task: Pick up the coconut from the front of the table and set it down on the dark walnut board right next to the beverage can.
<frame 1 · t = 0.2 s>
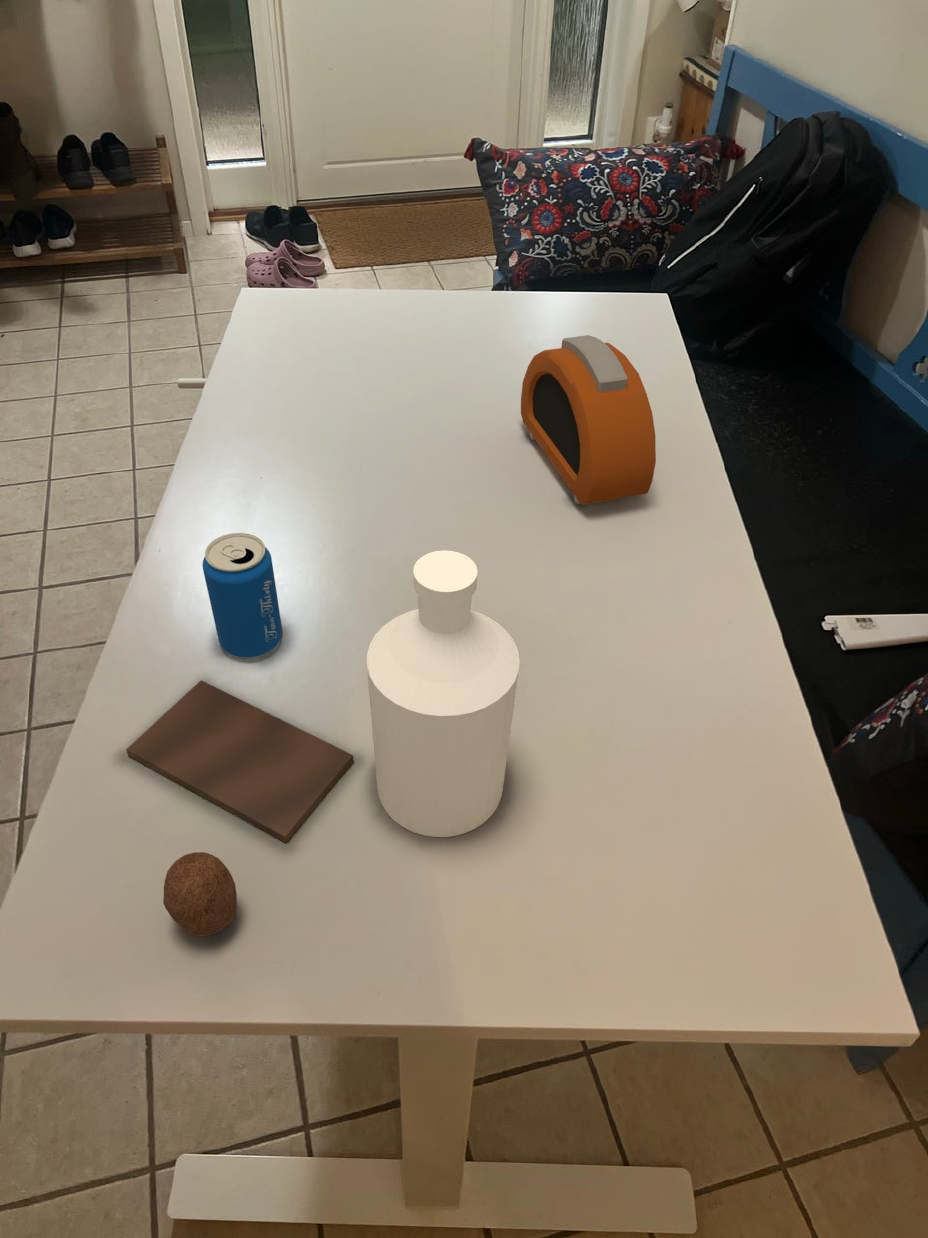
beverage can: (252, 642, 92), on the table
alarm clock: (578, 466, 118), on the table
walnut board: (241, 759, 81), on the table
bottle: (440, 784, 80), on the table
coconut: (209, 920, 70), on the table
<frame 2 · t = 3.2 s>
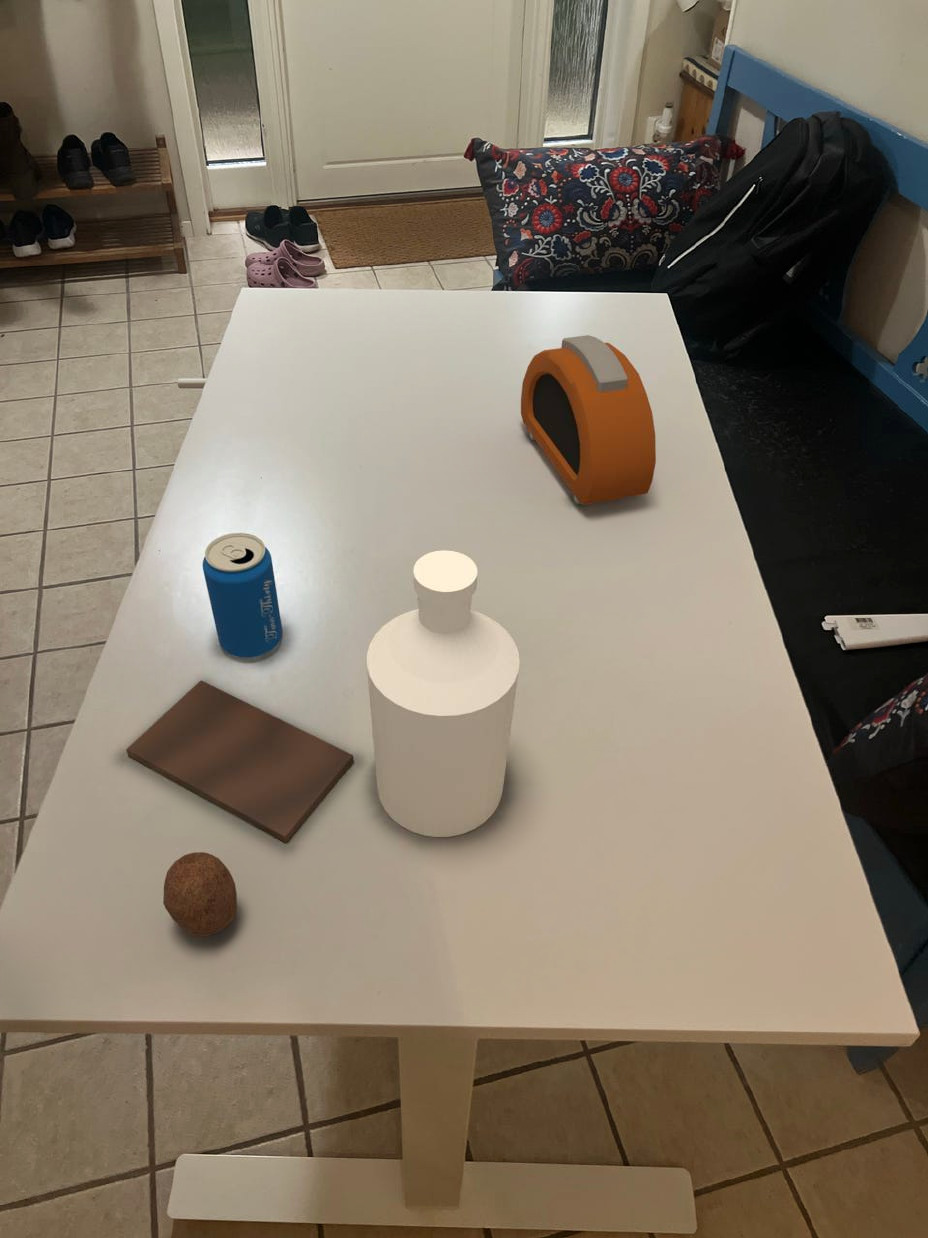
nothing on the table moved.
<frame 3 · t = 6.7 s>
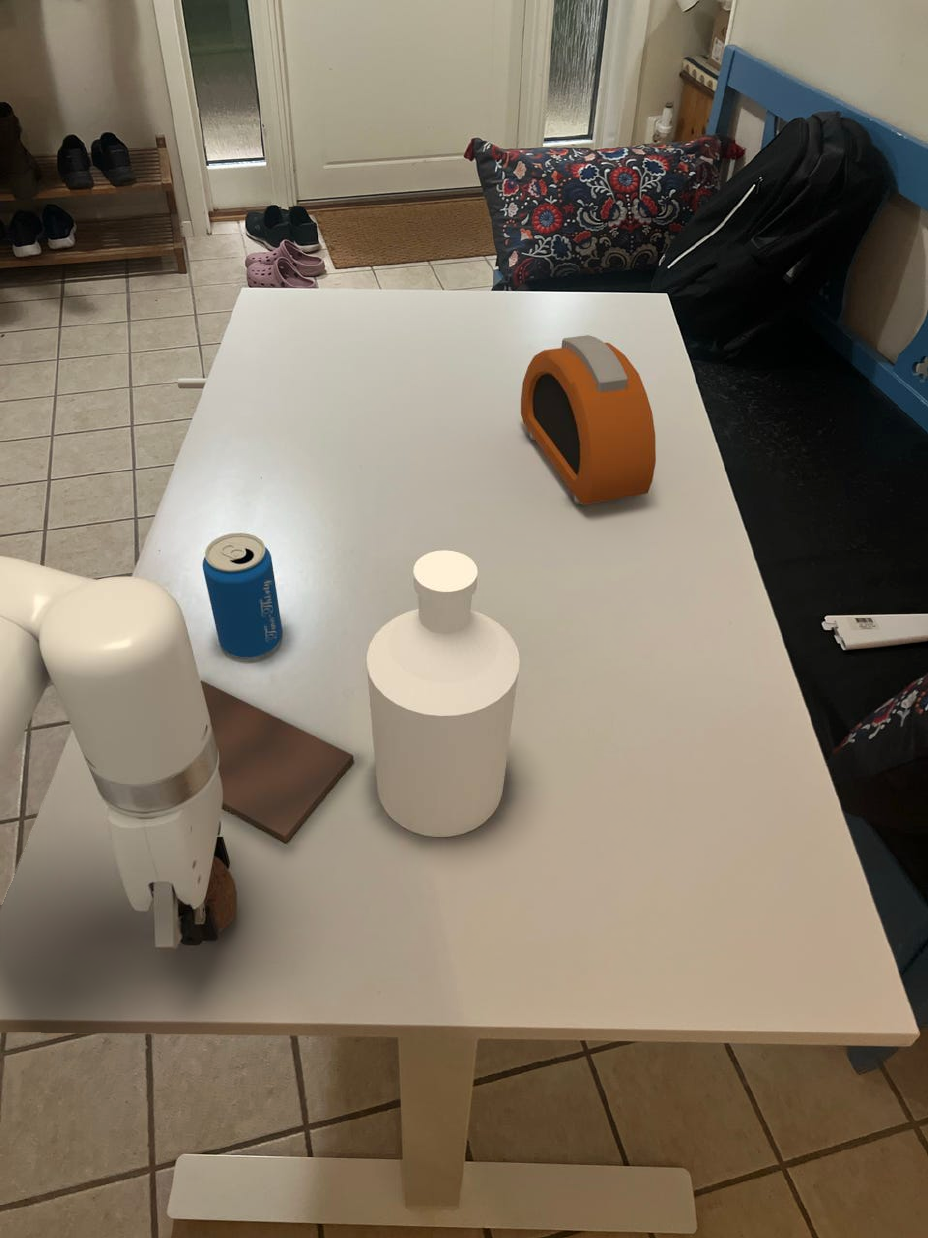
hand: (203, 900, 68), 3 cm above the table, tool pointing down, fingers closed on coconut, 5 cm apart
coconut: (209, 920, 70), on the table, touching gripper
everything else where it was.
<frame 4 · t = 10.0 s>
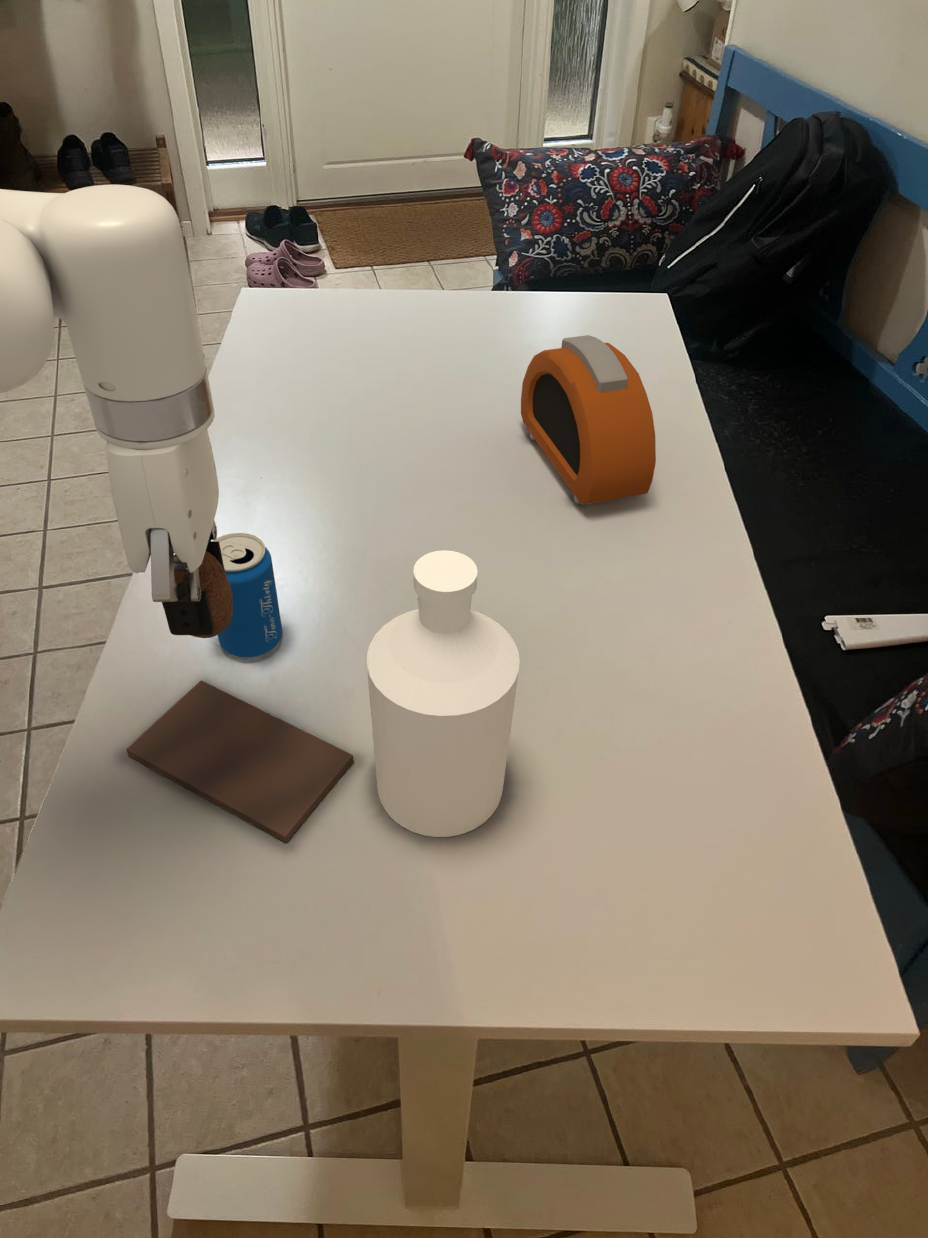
hand: (199, 604, 69), 18 cm above the table, tool pointing down, fingers closed on coconut, 5 cm apart
coconut: (206, 632, 72), point 15 cm above the table, touching gripper
everything else where it was.
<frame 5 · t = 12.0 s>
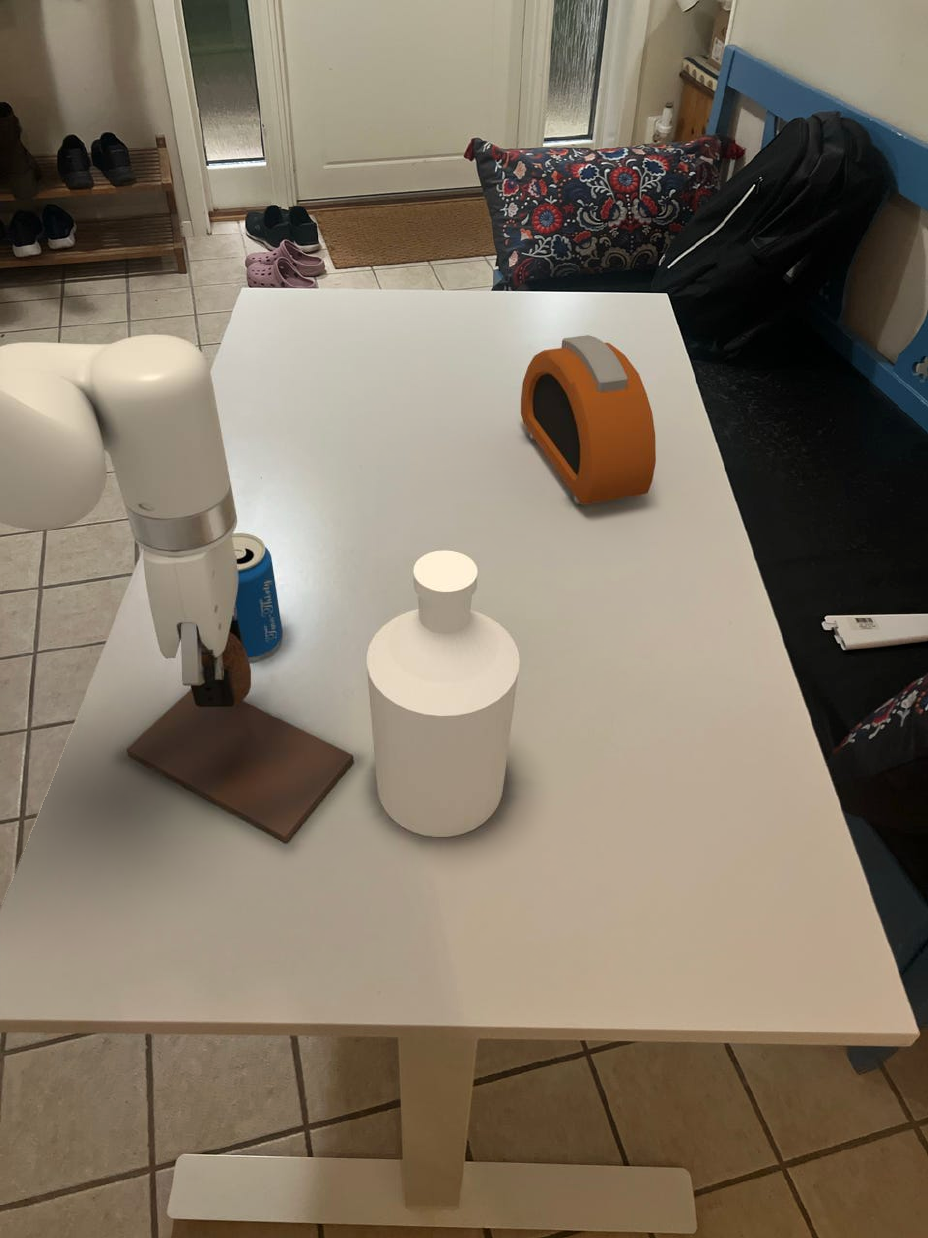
hand: (220, 677, 77), 8 cm above the table, tool pointing down, fingers closed on coconut, 5 cm apart
coconut: (226, 700, 79), point 5 cm above the table, touching gripper
everything else where it was.
when the fingers open (4 cm above the table, at t = 13.5 s): coconut stays where it is, resting on walnut board.
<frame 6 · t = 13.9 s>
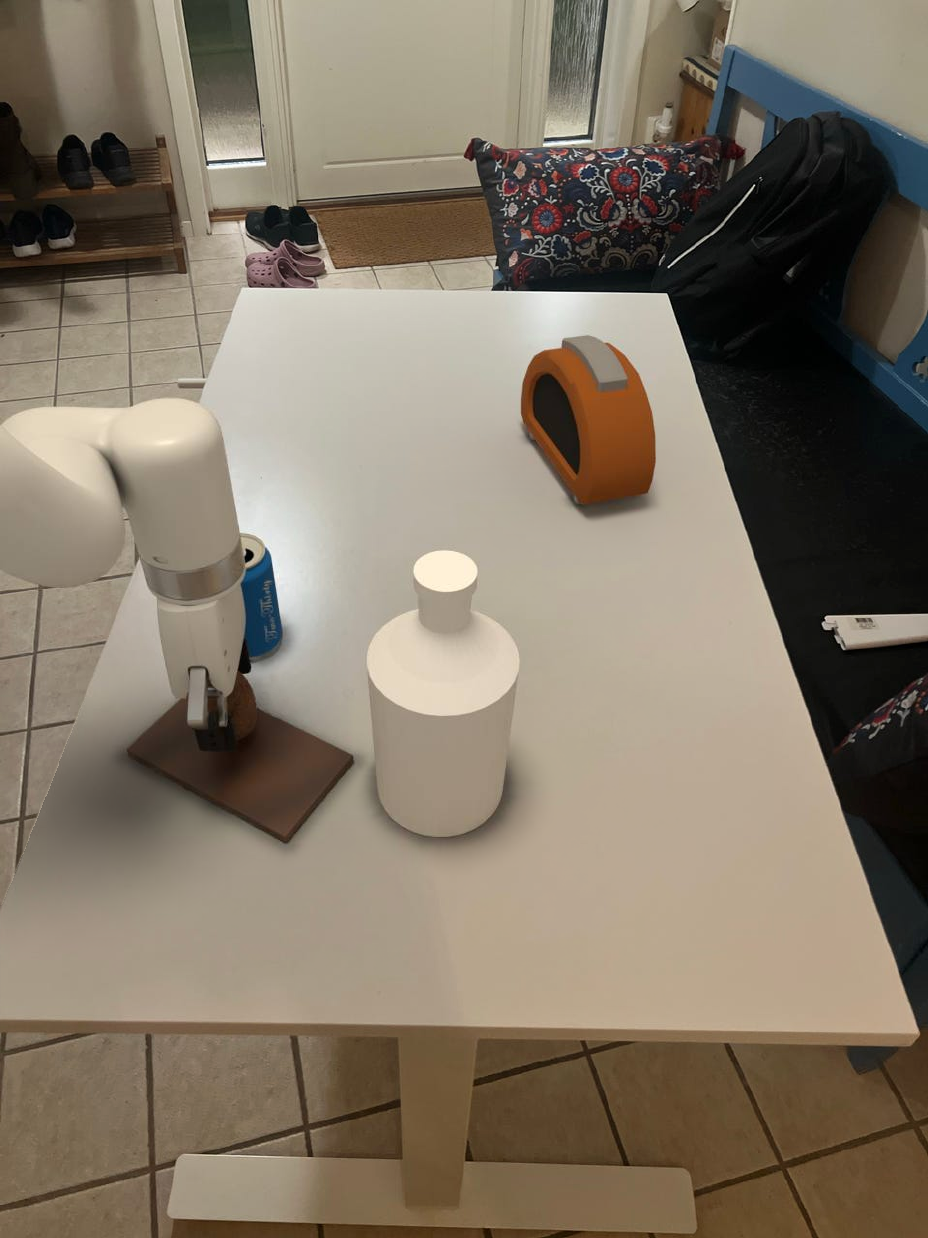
hand: (227, 708, 80), 4 cm above the table, tool pointing down, fingers open, 8 cm apart
coconut: (233, 733, 82), point 1 cm above the table, touching walnut board
everything else where it was.
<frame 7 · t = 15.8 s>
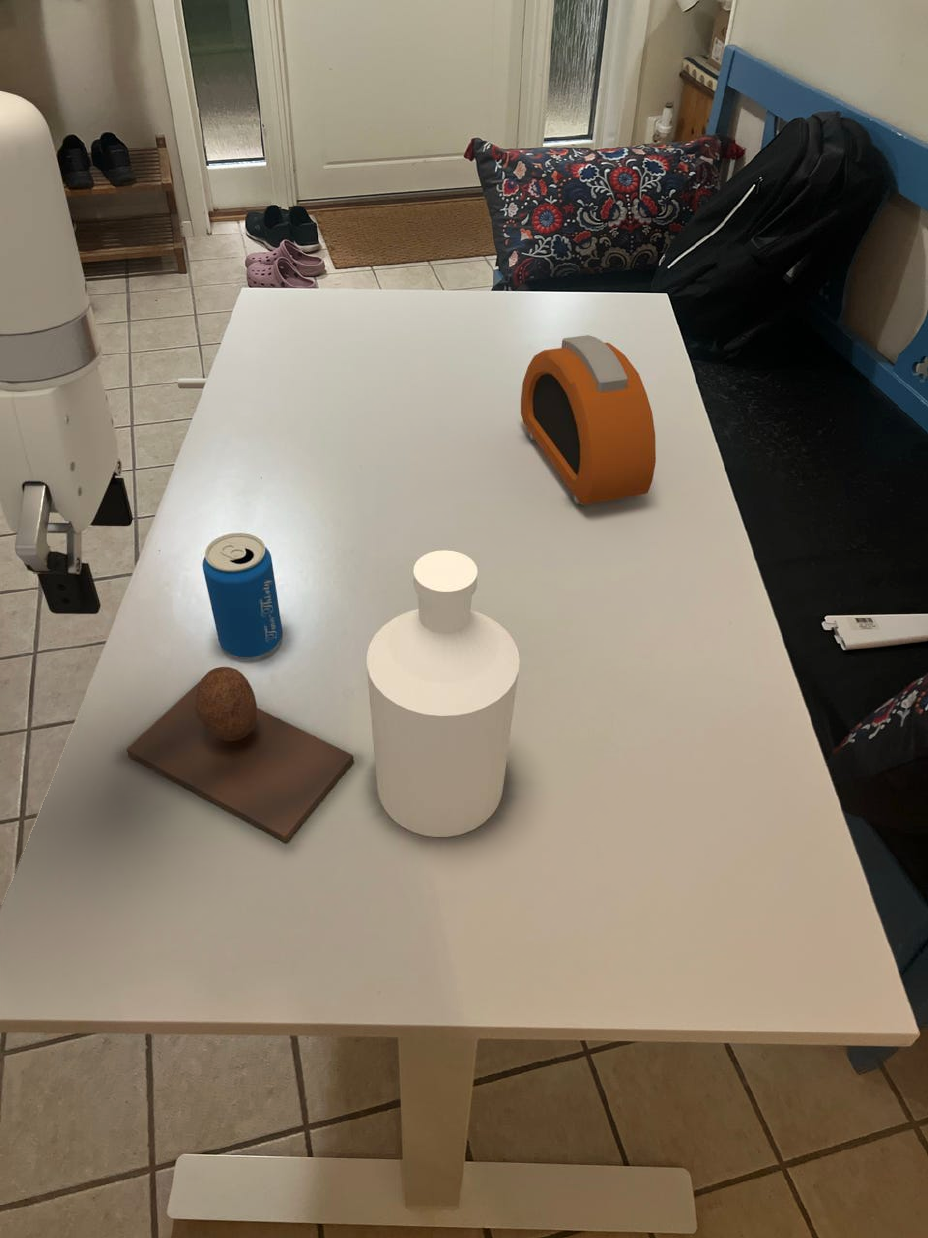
hand: (94, 564, 63), 24 cm above the table, tool pointing down, fingers open, 9 cm apart
nothing on the table moved.
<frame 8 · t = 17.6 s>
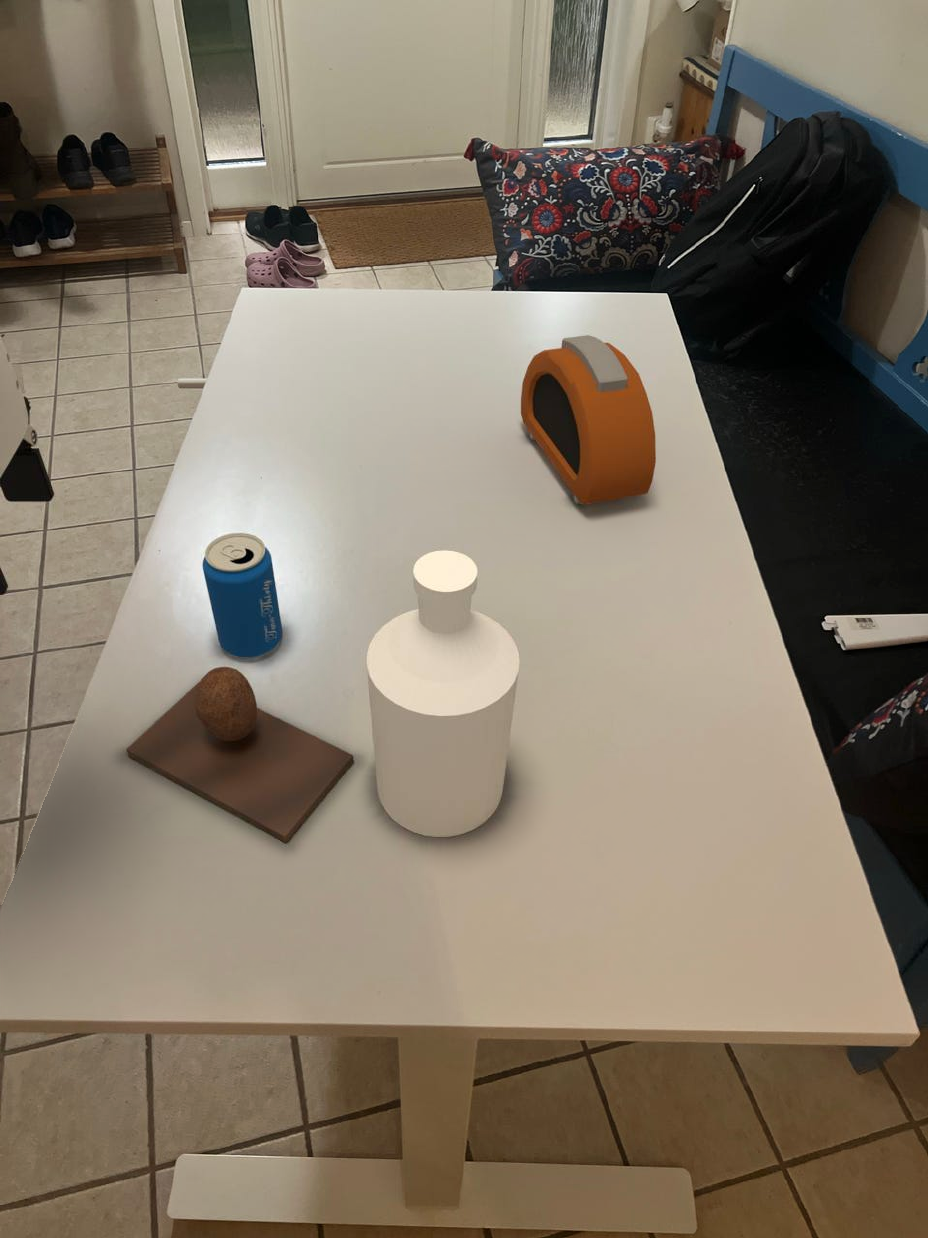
hand: (8, 542, 58), 28 cm above the table, tool pointing down, fingers open, 9 cm apart
nothing on the table moved.
at the end: coconut 13.0 cm from the beverage can (horizontally); coconut inside the target area on the walnut board (2.5 cm from its centre), point 0.8 cm above the walnut board's base; beverage can moved 0.2 cm from its start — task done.
